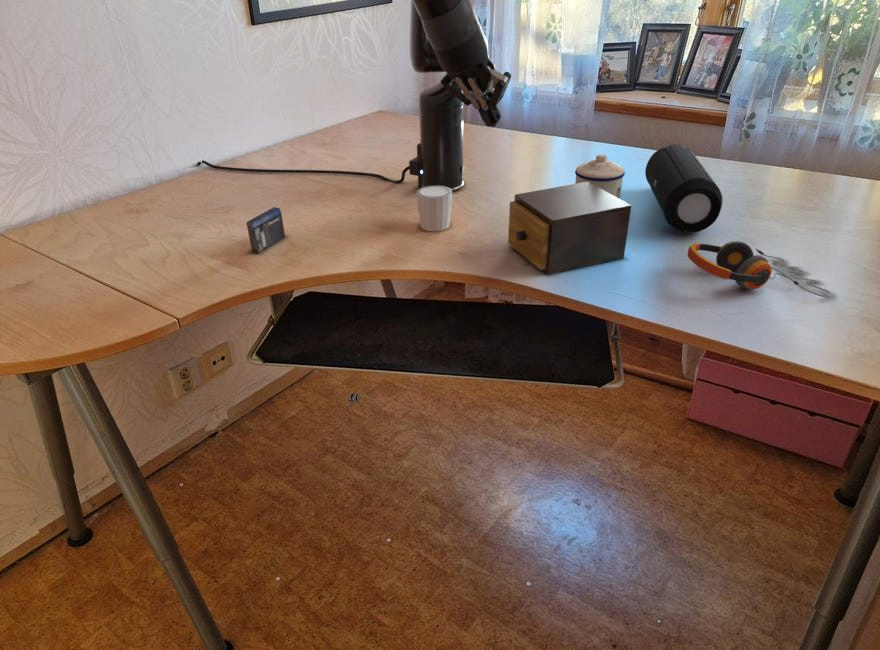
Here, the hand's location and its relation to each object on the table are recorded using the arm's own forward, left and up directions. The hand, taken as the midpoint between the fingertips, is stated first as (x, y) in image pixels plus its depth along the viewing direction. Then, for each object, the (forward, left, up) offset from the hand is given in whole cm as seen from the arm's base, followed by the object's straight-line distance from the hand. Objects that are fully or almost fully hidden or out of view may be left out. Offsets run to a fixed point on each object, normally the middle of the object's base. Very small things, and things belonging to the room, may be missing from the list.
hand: (493, 122), depth 108 cm
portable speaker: (+25, +30, -22) cm, 45 cm away
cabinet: (+13, +3, -22) cm, 26 cm away
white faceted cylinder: (-14, +3, -22) cm, 26 cm away
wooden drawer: (+12, +1, -21) cm, 24 cm away
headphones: (+42, +6, -22) cm, 48 cm away
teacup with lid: (+11, +23, -22) cm, 34 cm away
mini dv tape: (-38, -19, -22) cm, 47 cm away
